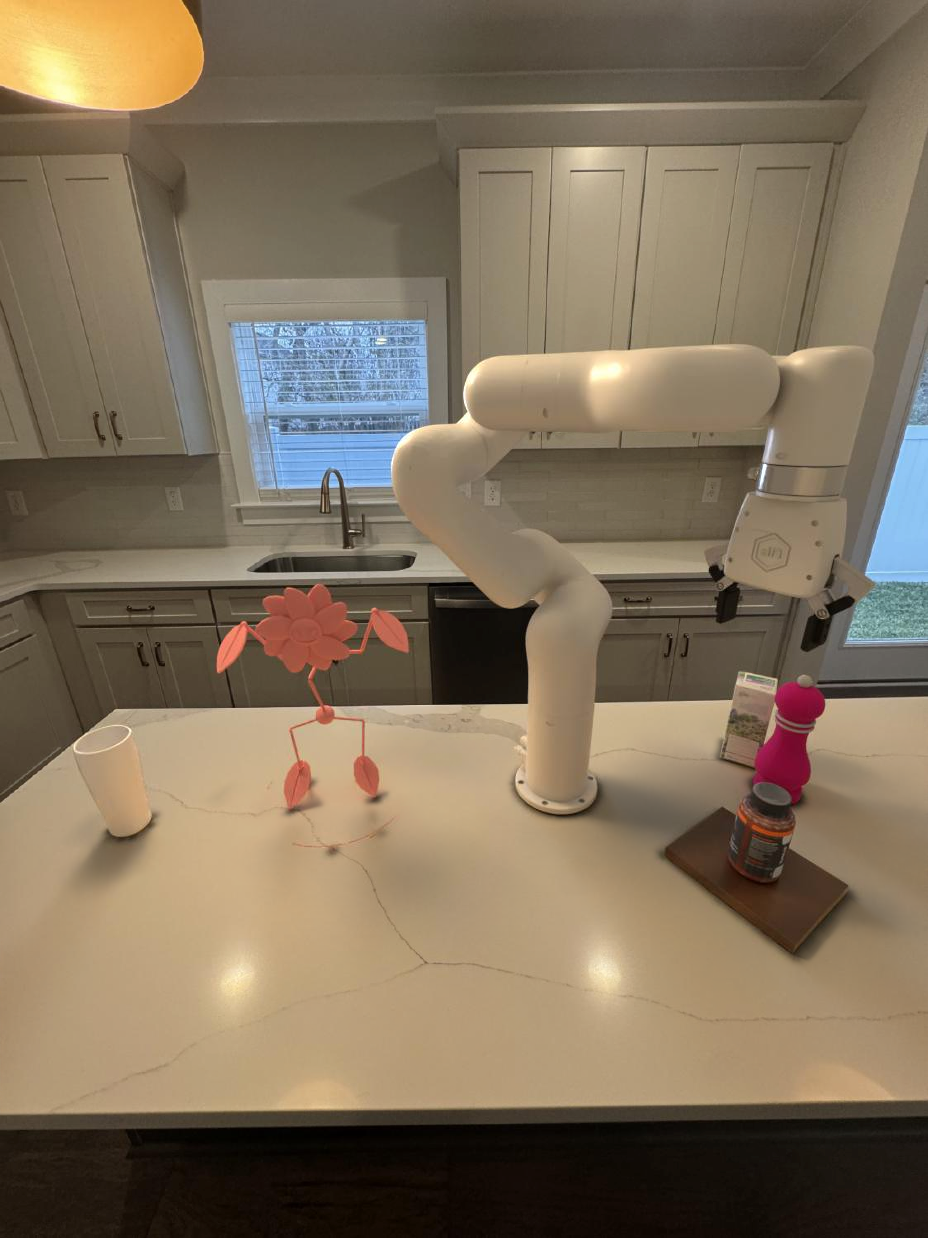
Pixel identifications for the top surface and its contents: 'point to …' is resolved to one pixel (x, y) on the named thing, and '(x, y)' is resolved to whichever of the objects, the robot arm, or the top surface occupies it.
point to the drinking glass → (114, 778)
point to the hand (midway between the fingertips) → (764, 633)
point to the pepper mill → (790, 737)
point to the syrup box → (748, 718)
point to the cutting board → (771, 906)
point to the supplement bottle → (762, 833)
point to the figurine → (313, 662)
